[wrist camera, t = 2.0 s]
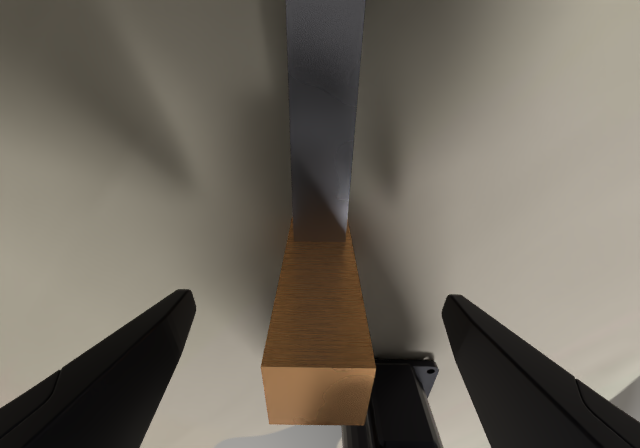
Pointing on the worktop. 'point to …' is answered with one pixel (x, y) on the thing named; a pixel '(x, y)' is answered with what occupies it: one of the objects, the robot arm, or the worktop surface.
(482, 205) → the worktop surface
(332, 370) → the hook tool
